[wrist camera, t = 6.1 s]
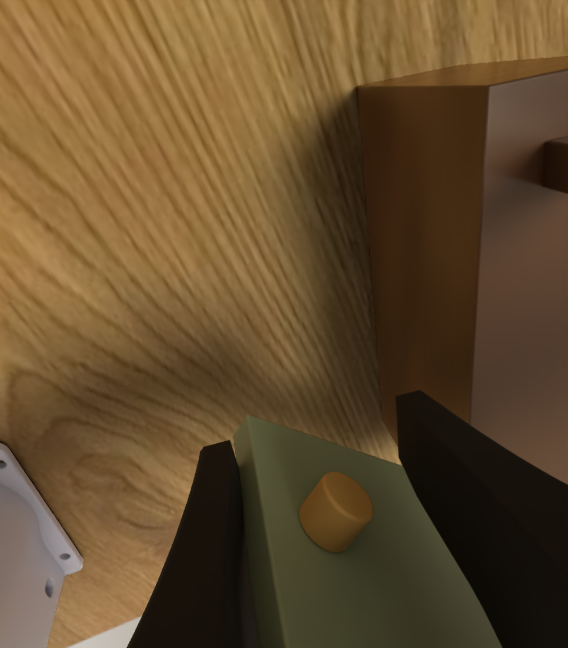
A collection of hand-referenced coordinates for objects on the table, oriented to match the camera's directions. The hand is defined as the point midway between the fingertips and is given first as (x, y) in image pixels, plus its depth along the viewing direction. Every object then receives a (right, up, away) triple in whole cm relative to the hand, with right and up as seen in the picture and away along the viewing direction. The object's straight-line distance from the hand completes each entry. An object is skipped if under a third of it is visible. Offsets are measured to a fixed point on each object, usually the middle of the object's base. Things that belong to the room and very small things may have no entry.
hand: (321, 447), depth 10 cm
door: (+3, -1, +3) cm, 4 cm away
